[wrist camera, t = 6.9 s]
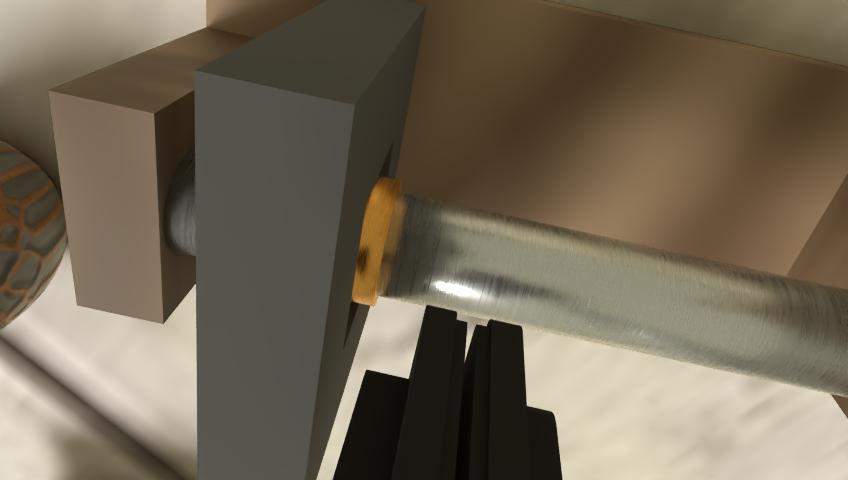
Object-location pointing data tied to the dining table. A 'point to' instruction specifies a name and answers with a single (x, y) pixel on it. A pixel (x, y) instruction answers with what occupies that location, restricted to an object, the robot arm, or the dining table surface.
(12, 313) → the vase
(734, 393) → the dining table surface
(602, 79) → the stand
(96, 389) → the dining table surface
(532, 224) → the pipe
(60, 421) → the dining table surface
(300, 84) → the collar
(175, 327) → the dining table surface
